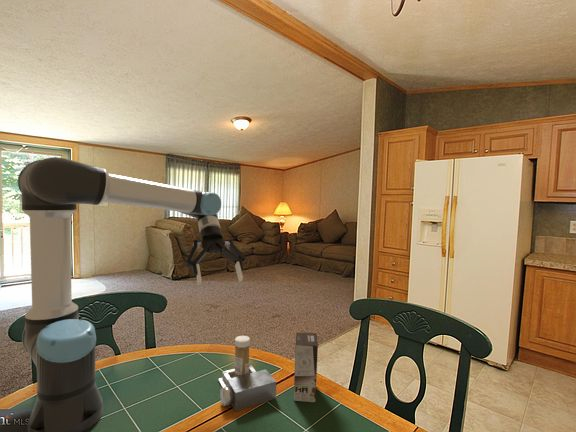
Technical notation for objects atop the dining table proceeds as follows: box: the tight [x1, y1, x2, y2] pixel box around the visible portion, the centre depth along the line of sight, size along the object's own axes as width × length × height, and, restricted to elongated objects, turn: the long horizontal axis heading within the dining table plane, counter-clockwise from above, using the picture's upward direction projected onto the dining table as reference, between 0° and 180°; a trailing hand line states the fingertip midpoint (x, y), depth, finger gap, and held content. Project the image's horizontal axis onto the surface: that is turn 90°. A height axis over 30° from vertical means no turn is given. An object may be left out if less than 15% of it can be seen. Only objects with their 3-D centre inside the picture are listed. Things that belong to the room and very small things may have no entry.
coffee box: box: [293, 331, 319, 403], centre depth 91 cm, size 9×6×16 cm
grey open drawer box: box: [217, 364, 277, 412], centre depth 91 cm, size 14×16×5 cm
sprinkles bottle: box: [234, 335, 251, 377], centre depth 94 cm, size 5×5×13 cm
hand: (221, 281), depth 101 cm, fingers open, 13 cm apart
